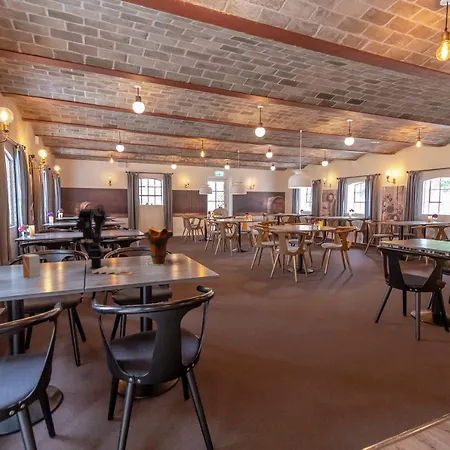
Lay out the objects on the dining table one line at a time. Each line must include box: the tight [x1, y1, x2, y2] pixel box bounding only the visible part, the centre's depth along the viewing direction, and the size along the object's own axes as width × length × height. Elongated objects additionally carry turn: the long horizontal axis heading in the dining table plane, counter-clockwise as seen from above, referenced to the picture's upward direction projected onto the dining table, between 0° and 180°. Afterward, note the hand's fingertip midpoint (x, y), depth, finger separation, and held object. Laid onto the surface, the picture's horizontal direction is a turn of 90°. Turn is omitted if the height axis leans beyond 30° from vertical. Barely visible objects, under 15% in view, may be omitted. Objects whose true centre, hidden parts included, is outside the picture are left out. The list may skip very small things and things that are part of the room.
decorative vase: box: [142, 226, 174, 267], centre depth 232 cm, size 21×23×28 cm
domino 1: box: [91, 265, 108, 274], centre depth 202 cm, size 5×2×8 cm
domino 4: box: [114, 266, 131, 275], centre depth 200 cm, size 5×2×8 cm
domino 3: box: [105, 266, 122, 275], centre depth 201 cm, size 5×2×8 cm
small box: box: [21, 253, 41, 279], centre depth 193 cm, size 8×6×13 cm
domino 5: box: [117, 271, 135, 276], centre depth 199 cm, size 5×2×8 cm
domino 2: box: [98, 265, 115, 275], centre depth 201 cm, size 5×2×8 cm
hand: (88, 253), depth 203 cm, fingers closed
